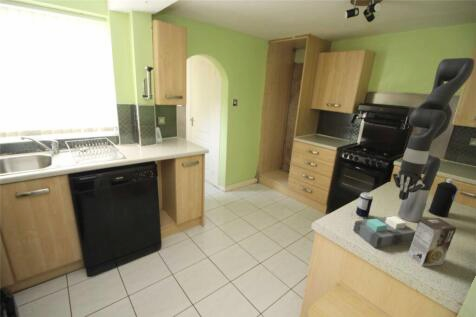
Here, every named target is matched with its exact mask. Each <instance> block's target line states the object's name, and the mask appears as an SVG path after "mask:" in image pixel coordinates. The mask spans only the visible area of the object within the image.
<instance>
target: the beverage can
mask: <svg viewBox="0 0 476 317" xmlns="http://www.w3.org/2000/svg"><path fill="white" fill-rule="evenodd" d="M358 197H359V198H358V202H357V205H356V206H357V207H356V210H355V214H356V215H357V216H358V217H359V218H362V219H367V218H368V217H369V215H370V211H371V207H372V204H373V200H374V197H373V194H372V193H370V192H365V191H364V192H360V194H359V196H358Z"/></svg>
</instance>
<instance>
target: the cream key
mask: <svg viewBox="0 0 476 317" xmlns="http://www.w3.org/2000/svg"><path fill="white" fill-rule="evenodd" d="M386 217H387V218H386V221H385V223H386V224H388V225H390V226H391V227H393V228H394V229H401V228H404V227H405V225H406V224H407V222H406V221H404V219H401V218H399V217H397V216H396V215H395V216H386Z"/></svg>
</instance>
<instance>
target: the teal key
mask: <svg viewBox="0 0 476 317" xmlns="http://www.w3.org/2000/svg"><path fill="white" fill-rule="evenodd" d="M366 220H367V219H366ZM366 226H368V227H369V228H371V229H372V230H373V231H375V232H381V231H385V230H386V226H387V225H386V224H384V223H383V222H381V221H380V220H378V219H375V218H370V220H367V224H366Z"/></svg>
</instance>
